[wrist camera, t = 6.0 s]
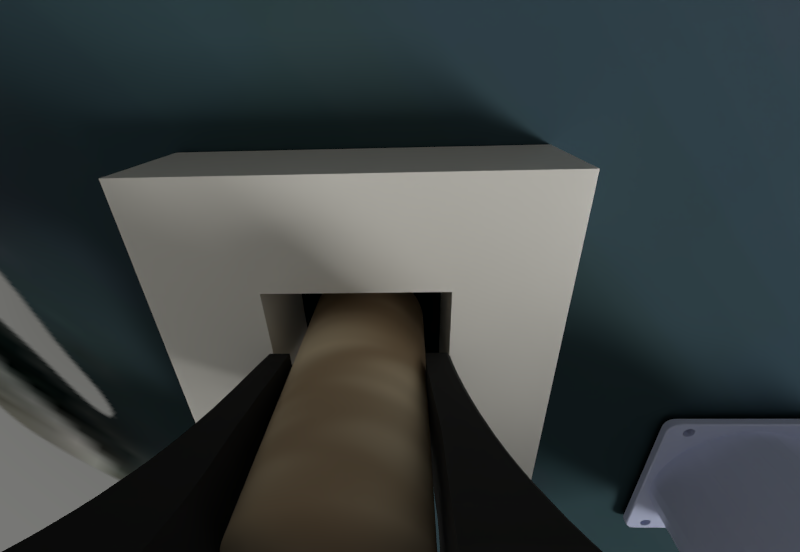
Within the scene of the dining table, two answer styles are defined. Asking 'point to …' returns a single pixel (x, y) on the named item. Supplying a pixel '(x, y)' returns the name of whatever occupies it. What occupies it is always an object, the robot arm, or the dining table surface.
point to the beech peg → (346, 438)
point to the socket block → (363, 258)
